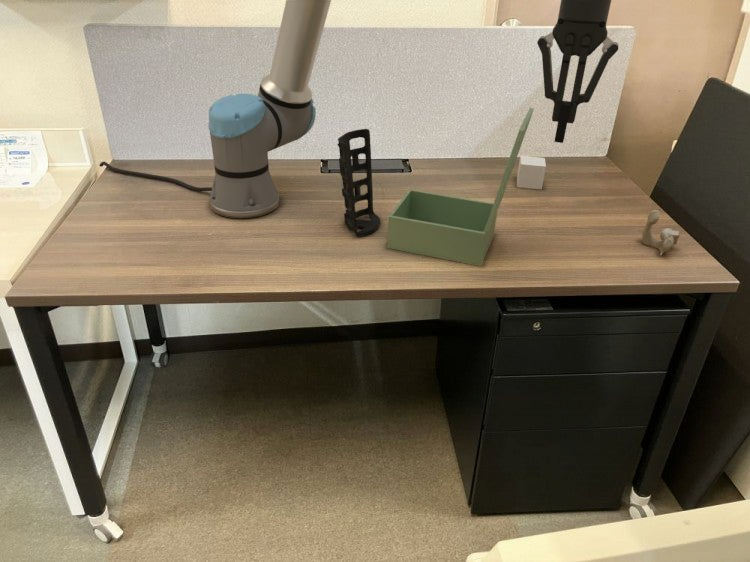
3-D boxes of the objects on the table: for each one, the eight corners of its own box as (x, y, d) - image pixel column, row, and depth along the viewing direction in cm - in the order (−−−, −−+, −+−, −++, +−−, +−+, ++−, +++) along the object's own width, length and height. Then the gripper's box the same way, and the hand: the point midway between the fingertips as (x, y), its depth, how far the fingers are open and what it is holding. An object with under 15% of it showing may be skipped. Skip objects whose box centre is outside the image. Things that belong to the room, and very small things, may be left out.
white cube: (516, 178, 155) (520, 155, 151) (540, 180, 154) (544, 157, 151) (517, 187, 150) (520, 164, 146) (541, 189, 149) (546, 166, 146)
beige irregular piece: (696, 251, 120) (683, 213, 116) (667, 268, 121) (653, 230, 116) (670, 234, 128) (657, 197, 123) (643, 250, 129) (629, 213, 124)
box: (387, 248, 122) (388, 216, 118) (407, 218, 133) (409, 189, 129) (481, 266, 116) (485, 233, 113) (494, 234, 128) (498, 204, 124)
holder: (375, 238, 124) (367, 144, 114) (339, 238, 126) (329, 144, 115) (383, 216, 133) (377, 127, 123) (350, 215, 135) (341, 127, 125)
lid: (519, 129, 101) (523, 131, 101) (530, 107, 112) (534, 108, 112) (484, 231, 112) (488, 232, 112) (497, 201, 124) (500, 202, 124)
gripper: (542, -7, 93) (519, 141, 105) (631, -2, 89) (596, 152, 102) (547, -12, 99) (524, 129, 111) (631, -7, 95) (598, 138, 108)
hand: (559, 139), depth 107 cm, fingers closed
